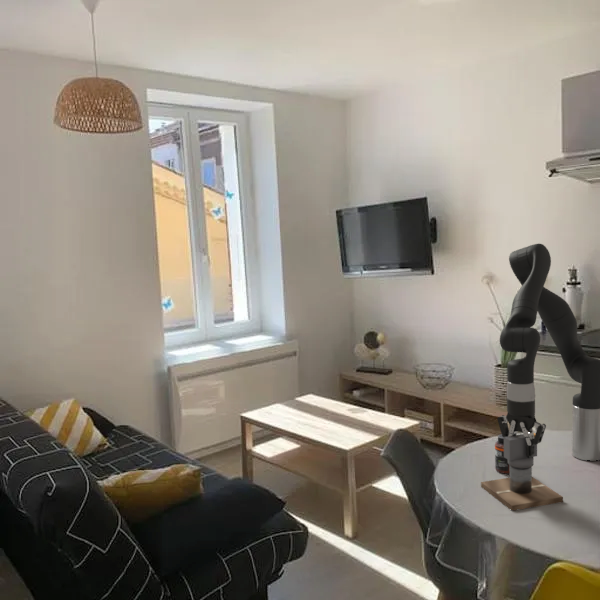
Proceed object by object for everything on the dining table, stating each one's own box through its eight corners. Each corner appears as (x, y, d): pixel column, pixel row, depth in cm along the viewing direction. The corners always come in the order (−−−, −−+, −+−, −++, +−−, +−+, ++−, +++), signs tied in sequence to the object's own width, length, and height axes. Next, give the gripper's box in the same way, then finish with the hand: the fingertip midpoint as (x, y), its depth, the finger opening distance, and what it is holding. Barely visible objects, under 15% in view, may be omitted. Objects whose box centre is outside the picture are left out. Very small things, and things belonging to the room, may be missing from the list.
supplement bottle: (515, 467, 192) (514, 433, 191) (515, 475, 186) (515, 440, 185) (495, 466, 194) (495, 432, 193) (495, 473, 188) (494, 438, 187)
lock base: (528, 479, 183) (528, 450, 182) (562, 501, 168) (563, 471, 167) (481, 486, 180) (480, 458, 178) (511, 510, 164) (511, 479, 163)
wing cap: (514, 470, 168) (514, 441, 167) (499, 461, 175) (499, 433, 174) (541, 465, 170) (541, 436, 169) (526, 456, 177) (526, 428, 176)
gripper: (490, 395, 173) (492, 452, 175) (538, 404, 162) (539, 465, 164) (504, 389, 178) (505, 445, 180) (551, 397, 167) (551, 456, 169)
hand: (521, 454), depth 172 cm, fingers closed on wing cap, 4 cm apart
